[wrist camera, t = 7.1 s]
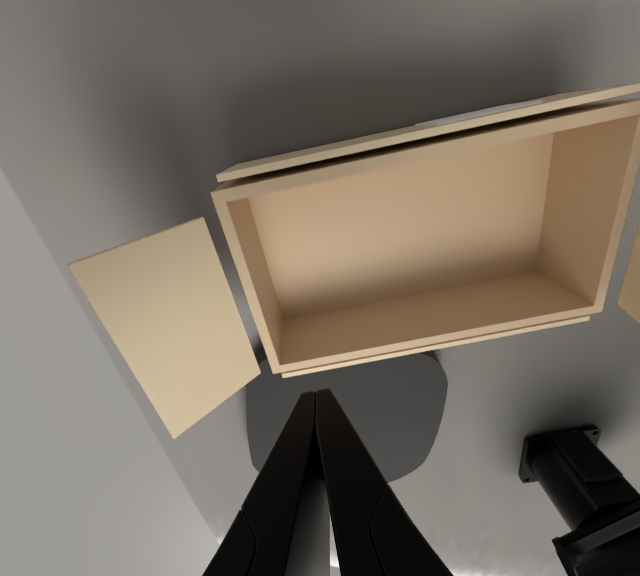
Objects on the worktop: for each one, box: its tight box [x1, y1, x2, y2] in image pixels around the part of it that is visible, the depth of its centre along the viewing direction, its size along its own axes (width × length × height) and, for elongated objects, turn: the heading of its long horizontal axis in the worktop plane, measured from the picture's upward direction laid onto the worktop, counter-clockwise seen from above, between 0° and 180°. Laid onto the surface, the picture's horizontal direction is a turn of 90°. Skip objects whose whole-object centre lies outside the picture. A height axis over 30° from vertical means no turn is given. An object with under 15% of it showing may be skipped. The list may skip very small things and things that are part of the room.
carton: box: [210, 83, 640, 378], centre depth 17 cm, size 11×18×5 cm, turn 101°
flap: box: [66, 217, 261, 439], centre depth 13 cm, size 8×1×5 cm
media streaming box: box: [247, 347, 448, 483], centre depth 25 cm, size 15×15×3 cm
